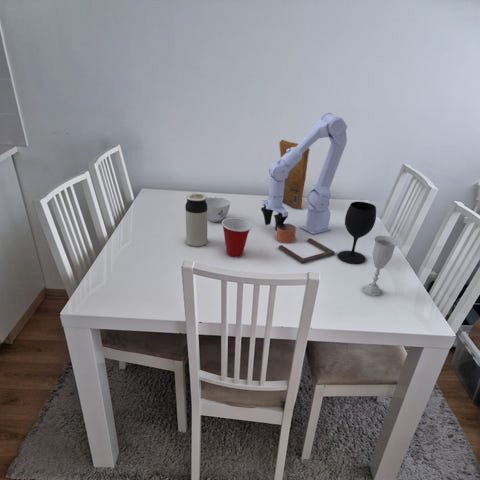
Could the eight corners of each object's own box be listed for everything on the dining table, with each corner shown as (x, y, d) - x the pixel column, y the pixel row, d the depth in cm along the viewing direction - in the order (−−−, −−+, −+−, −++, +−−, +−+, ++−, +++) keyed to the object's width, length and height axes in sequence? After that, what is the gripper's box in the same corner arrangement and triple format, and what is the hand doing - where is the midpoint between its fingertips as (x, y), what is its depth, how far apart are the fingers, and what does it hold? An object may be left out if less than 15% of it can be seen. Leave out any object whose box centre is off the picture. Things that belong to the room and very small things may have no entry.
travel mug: (211, 242, 161) (212, 196, 150) (196, 248, 156) (195, 201, 145) (197, 236, 165) (197, 191, 154) (182, 242, 160) (180, 195, 150)
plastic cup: (247, 262, 149) (249, 230, 142) (217, 258, 150) (218, 226, 143) (252, 249, 158) (254, 219, 151) (224, 245, 159) (225, 215, 152)
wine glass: (366, 254, 159) (379, 203, 148) (364, 266, 151) (377, 213, 139) (339, 249, 162) (349, 198, 150) (335, 260, 153) (346, 208, 142)
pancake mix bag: (295, 211, 193) (303, 147, 177) (272, 198, 206) (278, 138, 190) (307, 209, 196) (316, 146, 180) (283, 196, 209) (290, 137, 193)
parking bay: (309, 240, 167) (310, 237, 166) (334, 254, 158) (334, 251, 157) (278, 248, 159) (278, 245, 159) (302, 263, 150) (302, 260, 149)
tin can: (286, 233, 171) (288, 222, 168) (298, 240, 166) (300, 228, 163) (272, 237, 168) (273, 225, 165) (283, 244, 163) (285, 232, 160)
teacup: (235, 221, 179) (236, 203, 175) (211, 227, 173) (211, 208, 168) (215, 210, 189) (216, 193, 184) (192, 215, 182) (191, 197, 178)
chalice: (358, 285, 139) (371, 235, 129) (378, 285, 140) (392, 235, 130) (365, 297, 133) (379, 245, 123) (386, 297, 134) (401, 246, 124)
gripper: (257, 190, 167) (254, 223, 175) (279, 202, 157) (275, 235, 165) (271, 188, 170) (268, 220, 178) (293, 199, 161) (289, 232, 169)
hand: (272, 227), depth 172 cm, fingers open, 7 cm apart
